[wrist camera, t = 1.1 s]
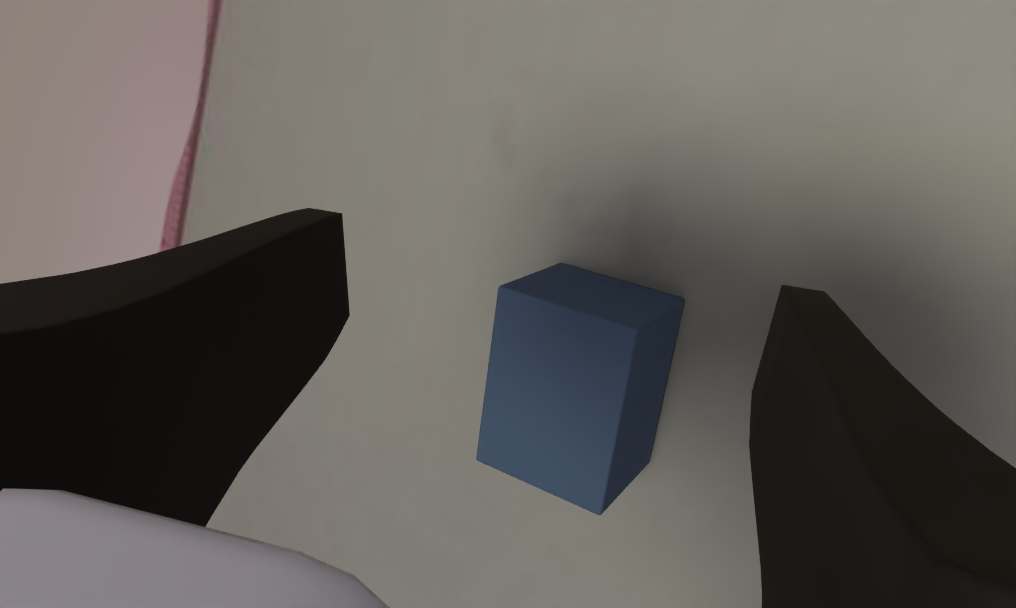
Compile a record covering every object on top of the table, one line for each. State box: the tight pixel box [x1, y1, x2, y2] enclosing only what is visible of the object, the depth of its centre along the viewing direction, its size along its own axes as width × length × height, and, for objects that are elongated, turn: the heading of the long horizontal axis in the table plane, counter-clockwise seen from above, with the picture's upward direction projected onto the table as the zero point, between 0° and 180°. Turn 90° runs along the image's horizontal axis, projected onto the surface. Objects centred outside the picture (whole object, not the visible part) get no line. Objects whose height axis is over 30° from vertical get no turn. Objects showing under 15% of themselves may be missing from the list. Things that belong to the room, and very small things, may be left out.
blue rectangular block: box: [476, 263, 684, 515], centre depth 24 cm, size 6×4×4 cm
